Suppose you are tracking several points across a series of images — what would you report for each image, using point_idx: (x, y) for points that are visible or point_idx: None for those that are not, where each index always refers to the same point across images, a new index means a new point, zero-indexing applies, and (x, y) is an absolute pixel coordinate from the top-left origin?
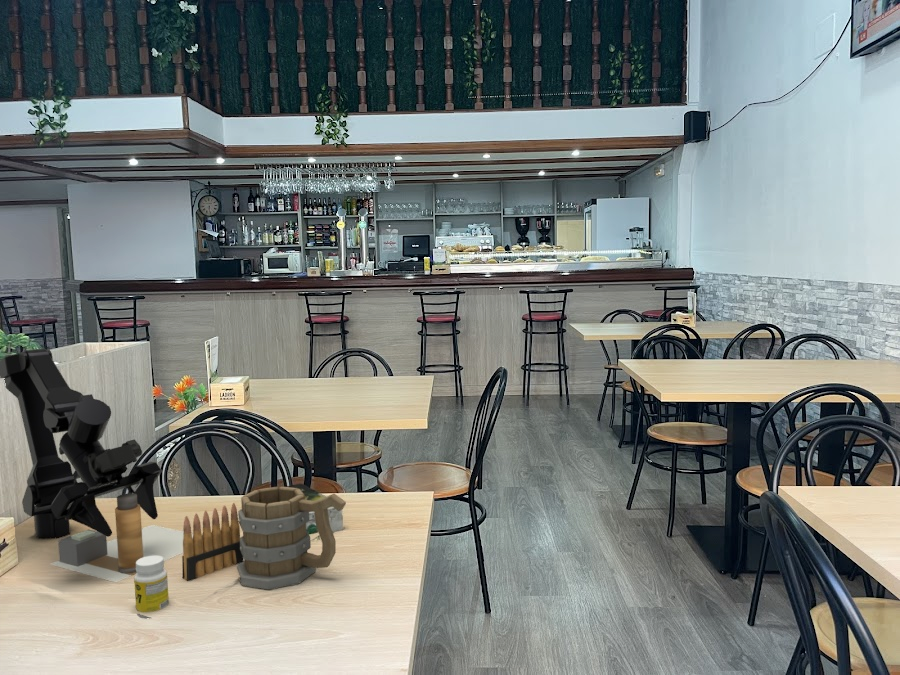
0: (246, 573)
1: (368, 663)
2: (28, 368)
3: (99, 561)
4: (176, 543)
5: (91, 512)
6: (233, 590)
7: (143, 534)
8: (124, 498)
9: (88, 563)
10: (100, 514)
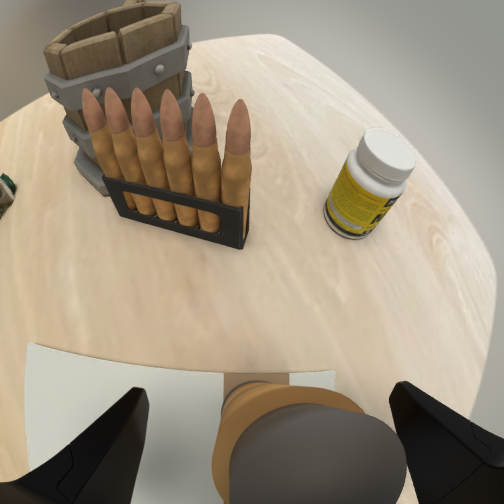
0: (187, 141)
1: (285, 41)
2: None
3: None
4: (78, 421)
5: (498, 436)
6: (220, 157)
7: None
8: (383, 448)
9: None
10: (462, 434)
